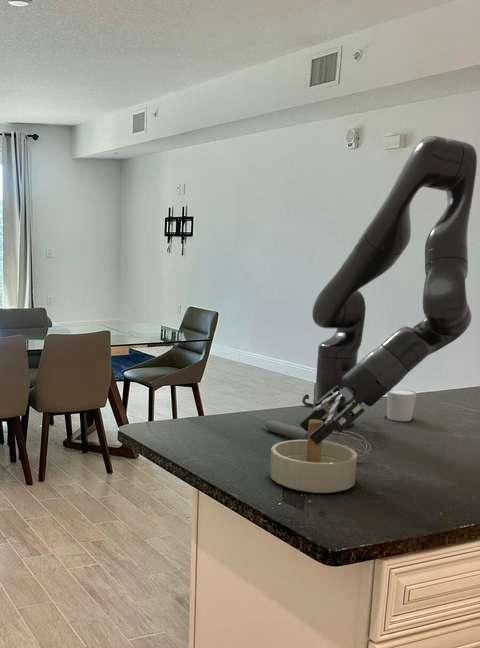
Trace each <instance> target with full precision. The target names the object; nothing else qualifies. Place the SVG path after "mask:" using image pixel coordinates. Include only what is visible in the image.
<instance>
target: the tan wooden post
mask: <svg viewBox="0 0 480 648" xmlns="http://www.w3.org/2000/svg"><path fill="white" fill-rule="evenodd" d="M321 424H323V421H322V420H317V419H312V420H309V427H308V443H307V458H306V462H315V463H320V462H321V448H322V441H321V442H320V443H319V444H315V443H314V442H313V441H312V440H311V439H310V437H309V435H310V434H311V433H312V432H313V431H315V430H316V429H317V428H318V427H319V426H320V425H321Z"/></svg>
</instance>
